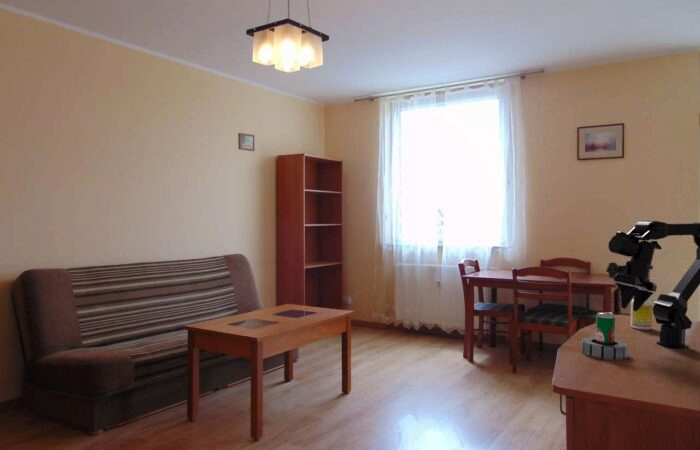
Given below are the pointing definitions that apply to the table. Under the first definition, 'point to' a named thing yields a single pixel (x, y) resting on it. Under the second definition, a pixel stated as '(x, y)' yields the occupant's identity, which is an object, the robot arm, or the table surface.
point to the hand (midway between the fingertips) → (629, 309)
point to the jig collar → (604, 349)
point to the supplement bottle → (642, 316)
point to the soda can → (605, 328)
